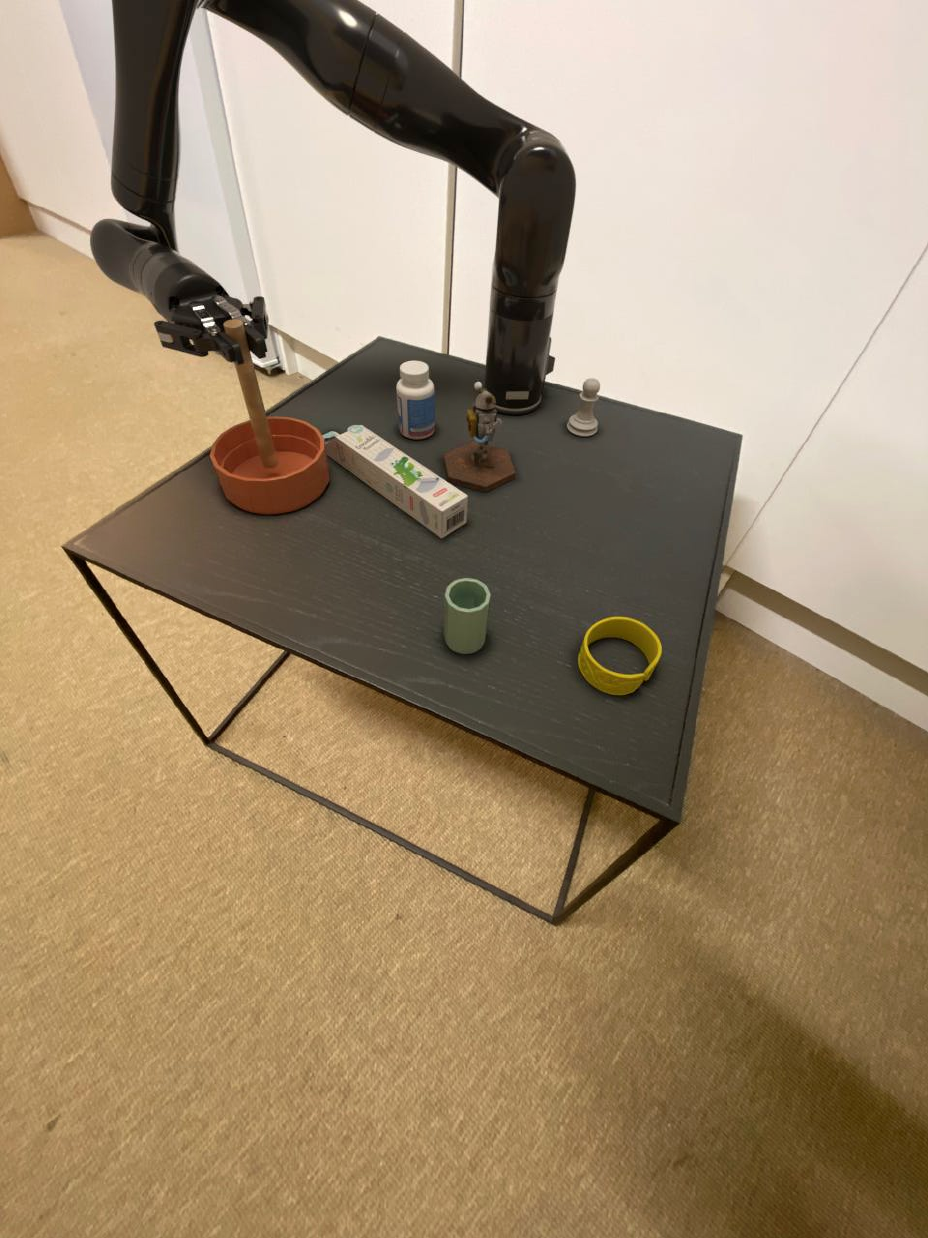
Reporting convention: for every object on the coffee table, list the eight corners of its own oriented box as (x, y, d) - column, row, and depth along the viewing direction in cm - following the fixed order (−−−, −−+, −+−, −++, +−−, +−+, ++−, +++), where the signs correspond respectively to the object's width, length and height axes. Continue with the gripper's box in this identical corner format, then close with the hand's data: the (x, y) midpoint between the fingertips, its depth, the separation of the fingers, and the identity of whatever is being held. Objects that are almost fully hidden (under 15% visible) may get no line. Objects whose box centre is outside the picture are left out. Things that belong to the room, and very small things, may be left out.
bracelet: (562, 661, 59) (568, 642, 57) (611, 623, 63) (618, 604, 60) (617, 708, 56) (626, 690, 54) (665, 665, 60) (675, 646, 57)
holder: (462, 615, 63) (465, 571, 57) (493, 636, 61) (499, 593, 56) (436, 638, 61) (436, 595, 55) (467, 661, 59) (470, 618, 54)
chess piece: (602, 434, 87) (615, 384, 80) (575, 439, 85) (586, 389, 79) (587, 418, 89) (598, 368, 83) (561, 423, 88) (570, 373, 82)
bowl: (286, 439, 83) (277, 404, 78) (352, 480, 77) (347, 445, 73) (201, 482, 76) (187, 447, 71) (267, 531, 70) (256, 496, 66)
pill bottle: (441, 428, 86) (442, 365, 79) (421, 444, 83) (419, 381, 76) (412, 416, 88) (410, 354, 80) (391, 432, 85) (387, 369, 77)
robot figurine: (519, 491, 77) (530, 411, 68) (451, 496, 76) (453, 414, 67) (503, 444, 84) (511, 365, 75) (441, 448, 83) (441, 368, 73)
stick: (277, 458, 75) (241, 318, 61) (279, 467, 74) (243, 326, 60) (262, 461, 75) (222, 319, 61) (263, 469, 74) (224, 328, 60)
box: (441, 538, 71) (309, 442, 82) (466, 523, 73) (333, 430, 84) (442, 511, 67) (303, 414, 79) (468, 495, 69) (329, 403, 81)
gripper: (113, 274, 63) (174, 333, 55) (231, 250, 69) (301, 300, 61) (141, 342, 69) (199, 404, 61) (247, 314, 75) (313, 368, 67)
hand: (250, 352), depth 61 cm, fingers closed on stick, 2 cm apart
